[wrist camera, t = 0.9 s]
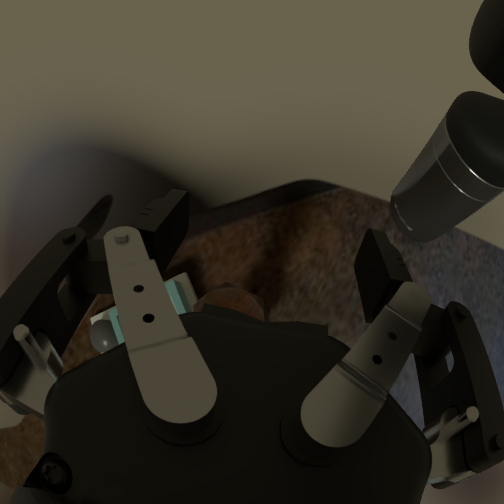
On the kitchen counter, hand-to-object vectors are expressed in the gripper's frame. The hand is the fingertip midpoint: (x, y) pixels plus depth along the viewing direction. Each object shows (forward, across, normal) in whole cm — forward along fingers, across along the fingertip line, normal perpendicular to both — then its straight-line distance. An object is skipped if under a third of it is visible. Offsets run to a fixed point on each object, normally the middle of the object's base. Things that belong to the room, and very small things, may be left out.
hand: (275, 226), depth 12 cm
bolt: (+12, 0, +20) cm, 23 cm away
